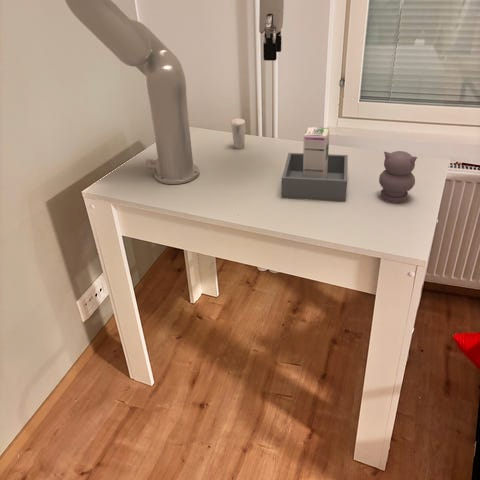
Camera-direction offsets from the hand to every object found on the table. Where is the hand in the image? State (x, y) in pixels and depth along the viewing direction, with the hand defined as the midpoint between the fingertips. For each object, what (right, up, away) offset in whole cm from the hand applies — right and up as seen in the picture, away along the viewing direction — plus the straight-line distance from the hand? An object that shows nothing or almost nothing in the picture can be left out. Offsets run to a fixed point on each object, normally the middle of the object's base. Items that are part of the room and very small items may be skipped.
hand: (272, 55), depth 120 cm
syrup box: (+11, -32, +4) cm, 35 cm away
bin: (+12, -33, +4) cm, 35 cm away
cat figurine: (+30, -37, -2) cm, 48 cm away
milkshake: (-8, -18, +29) cm, 35 cm away
